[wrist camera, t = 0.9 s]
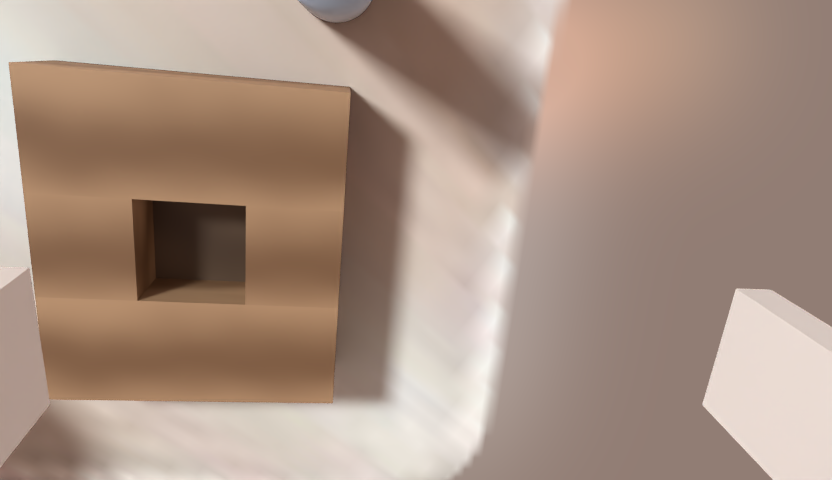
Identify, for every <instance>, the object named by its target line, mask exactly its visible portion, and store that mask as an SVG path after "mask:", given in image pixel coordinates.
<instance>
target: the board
mask: <svg viewBox="0 0 832 480" xmlns="http://www.w3.org/2000/svg"><path fill="white" fill-rule="evenodd" d="M9 70H10V79H11V87H12V96H13V105H14V114H15V123H16V132H17V140H18V149H19V158H20V167H21V176H22V184H23V193H24V202H25V211H26V220H27V228H28V237H29V246H30V255H31V264H32V272H33V281H34V290H35V299H36V308H37V316H38V325H39V334H40V341H41V348H42V354H43V361H44V367H45V374H46V380H47V387H48V393H49V399H60V400H134V401H209V402H283V403H333V387H334V370H335V353H336V336H337V318H338V301H339V284H340V267H341V250H342V233H343V216H344V199H345V182H346V164H347V147H348V130H349V113H350V96H351V91H350V87H344V86H333V85H322V84H311V83H300V82H288V81H277V80H266V79H255V78H244V77H233V76H222V75H210V74H199V73H188V72H177V71H166V70H155V69H144V68H132V67H121V66H110V65H99V64H88V63H77V62H66V61H31V62H9Z"/></svg>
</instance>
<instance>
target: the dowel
mask: <svg viewBox="0 0 832 480" xmlns="http://www.w3.org/2000/svg"><path fill="white" fill-rule="evenodd" d="M298 1H299V2H300V3H301V4H302V5H303V6H304V7H305V8H306V9H307V10H308V11H309V12H310V13H311V14H313V15H314V16H316V17H317V18H319V19H322V20H324V21H327V22H333V23H340V22H346V21H350V20H352V19H354V18H356V17H358V16H359V15H361V14H362V13H363V12H364V11H365V10H366V9H367V7H368V6H369V5H370V3H371V1H372V0H298Z"/></svg>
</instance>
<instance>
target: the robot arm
mask: <svg viewBox="0 0 832 480" xmlns="http://www.w3.org/2000/svg"><path fill="white" fill-rule="evenodd" d="M49 405H50V400H49V393H48V387H47V380H46V374H45V367H44V361H43V354H42V348H41V341H40V335H39V328H38V321H37V315H36V308H35V302H34V295H33V289H32V282H31V276H30V269H29V268H24V267H0V467H1V466H2V465H3V464H4V462H5V461H6V460H7V459H8V457H9V456H10V455H11V453H12V452H13V451H14V450H15V448H16V447H17V446H18V445H19V443H20V442H21V441H22V439H23V438H24V437H25V436H26V434H27V433H28V432H29V431H30V429H31V428H32V427H33V426H34V424H35V423H36V422H37V420H38V419H39V418H40V417H41V415H42V414H43V413H44V412H45V410H46V409H47V408H48V407H49ZM703 406H704V407H705V408H706V409H707V410H708V411H709V412H710V413H711V415H712V416H713V417H714V418H715V419H716V420H717V421H718V422H719V423H720V424H721V425H722V426H723V427H724V428H725V429H726V430H727V431H728V433H729V434H730V435H731V436H732V437H733V438H734V439H735V440H736V441H737V442H738V443H739V444H740V445H741V446H742V447H743V448H744V450H745V451H746V452H747V453H748V454H749V455H750V456H751V457H752V458H753V459H754V460H755V461H756V462H757V463H758V464H759V465H760V466H761V468H762V469H763V470H764V471H765V472H766V473H767V474H768V475H769V476H770V477H771V478H772V479H773V480H832V327H831V326H829V325H828V324H826V323H824V322H823V321H821V320H819V319H818V318H816V317H815V316H813V315H811V314H810V313H808V312H806V311H805V310H803V309H802V308H800V307H798V306H797V305H795V304H793V303H792V302H790V301H789V300H787V299H785V298H783V297H782V296H780V295H779V294H777V293H776V292H774V291H772V290H766V289H736V291H735V294H734V298H733V301H732V305H731V308H730V312H729V315H728V319H727V322H726V326H725V329H724V333H723V336H722V339H721V343H720V346H719V350H718V353H717V356H716V360H715V363H714V367H713V370H712V374H711V377H710V381H709V384H708V387H707V391H706V395H705V398H704V401H703Z"/></svg>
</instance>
